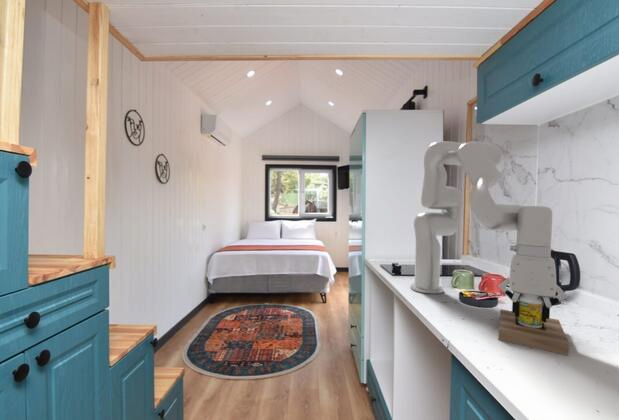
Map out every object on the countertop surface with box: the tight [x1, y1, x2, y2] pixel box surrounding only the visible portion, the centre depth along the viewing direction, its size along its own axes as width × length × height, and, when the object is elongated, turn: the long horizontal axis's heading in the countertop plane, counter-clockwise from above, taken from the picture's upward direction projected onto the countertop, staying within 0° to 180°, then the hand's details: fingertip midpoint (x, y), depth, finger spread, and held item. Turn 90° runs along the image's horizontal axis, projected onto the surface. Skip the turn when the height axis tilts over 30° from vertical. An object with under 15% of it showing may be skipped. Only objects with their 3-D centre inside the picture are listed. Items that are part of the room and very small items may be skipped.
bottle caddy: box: [498, 309, 570, 356], centre depth 83 cm, size 18×14×3 cm
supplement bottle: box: [518, 294, 544, 328], centre depth 83 cm, size 5×5×10 cm
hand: (529, 317), depth 83 cm, fingers closed on supplement bottle, 5 cm apart
